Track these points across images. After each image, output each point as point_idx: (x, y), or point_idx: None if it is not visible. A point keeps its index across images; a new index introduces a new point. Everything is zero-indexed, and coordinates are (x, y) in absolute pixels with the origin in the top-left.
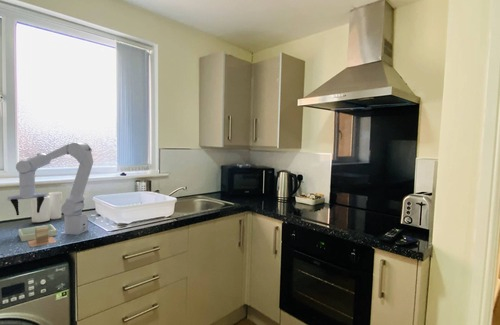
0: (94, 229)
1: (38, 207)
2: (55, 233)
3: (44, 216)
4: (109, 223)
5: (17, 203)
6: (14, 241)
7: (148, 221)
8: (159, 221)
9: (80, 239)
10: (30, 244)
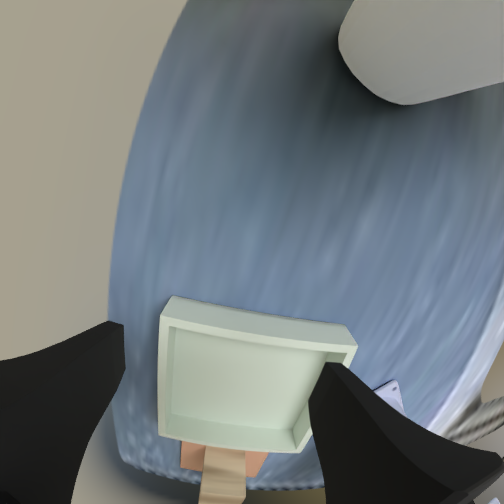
0: (416, 419)
1: (325, 460)
2: (293, 440)
3: (420, 96)
4: (483, 373)
5: (62, 499)
6: (142, 378)
7: (498, 407)
8: (496, 418)
9: (316, 478)
10: (184, 456)
